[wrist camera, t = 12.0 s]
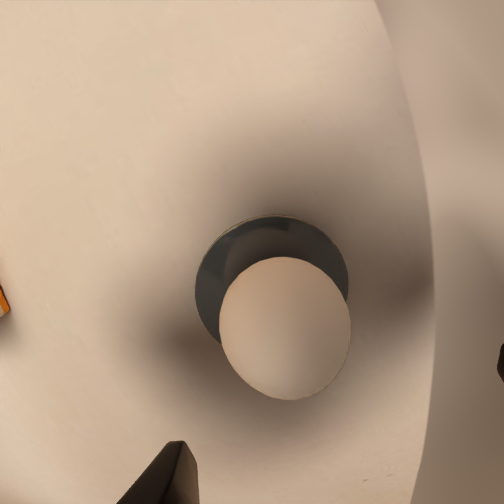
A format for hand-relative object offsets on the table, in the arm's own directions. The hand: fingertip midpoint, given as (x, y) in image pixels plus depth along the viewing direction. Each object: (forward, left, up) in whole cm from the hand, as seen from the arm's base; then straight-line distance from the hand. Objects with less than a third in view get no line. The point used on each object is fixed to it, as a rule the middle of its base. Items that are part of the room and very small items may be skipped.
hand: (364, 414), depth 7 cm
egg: (+1, -1, -10) cm, 10 cm away
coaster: (+1, 0, -10) cm, 10 cm away
